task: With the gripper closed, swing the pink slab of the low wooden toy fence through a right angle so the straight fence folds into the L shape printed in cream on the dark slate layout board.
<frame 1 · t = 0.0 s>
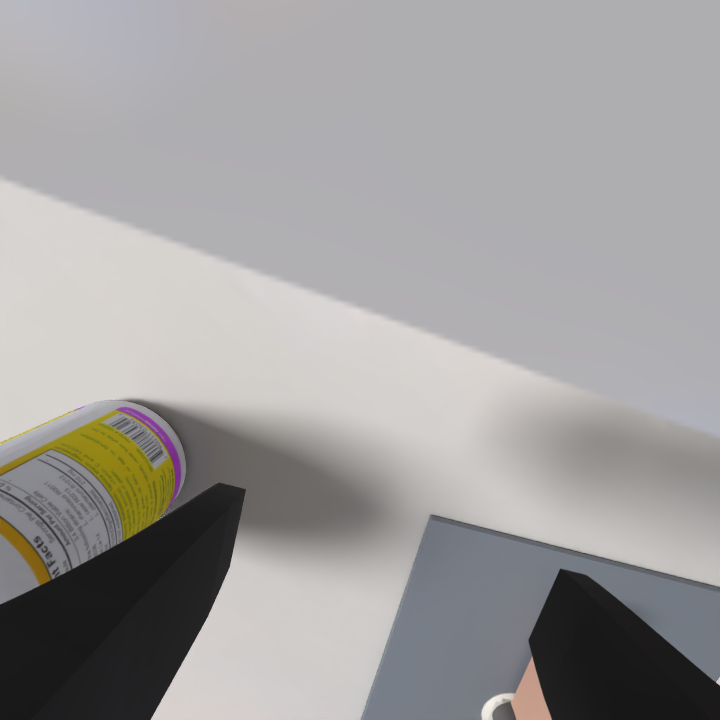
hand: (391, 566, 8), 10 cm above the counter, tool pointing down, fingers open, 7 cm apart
supplement bottle: (132, 454, 19), on the counter
pink slab: (557, 685, 18), point 2 cm above the counter, hinge at 0.0°
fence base: (509, 713, 21), resting on layout board
layout board: (525, 703, 21), on the counter
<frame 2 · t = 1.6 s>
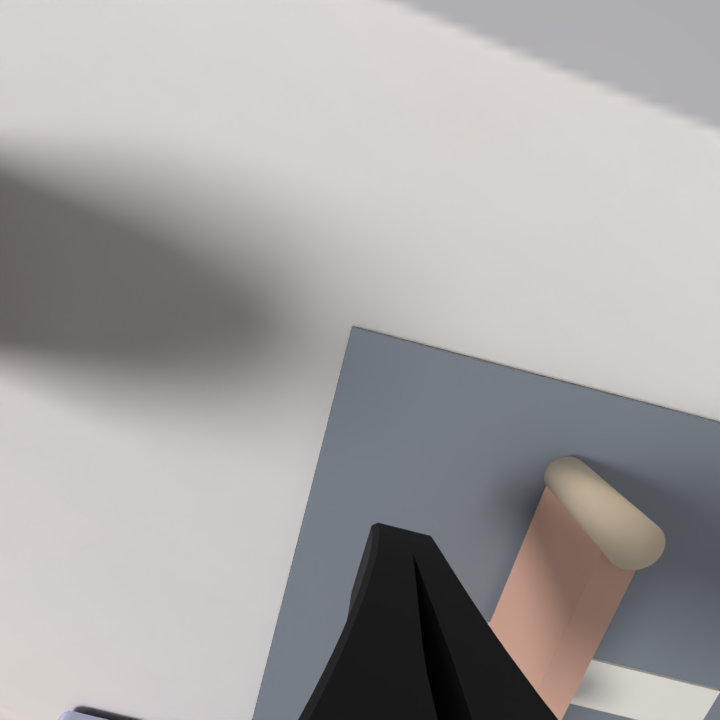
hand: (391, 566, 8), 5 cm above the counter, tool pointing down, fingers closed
pink slab: (556, 592, 11), point 2 cm above the counter, hinge at 0.0°
layout board: (508, 641, 14), on the counter
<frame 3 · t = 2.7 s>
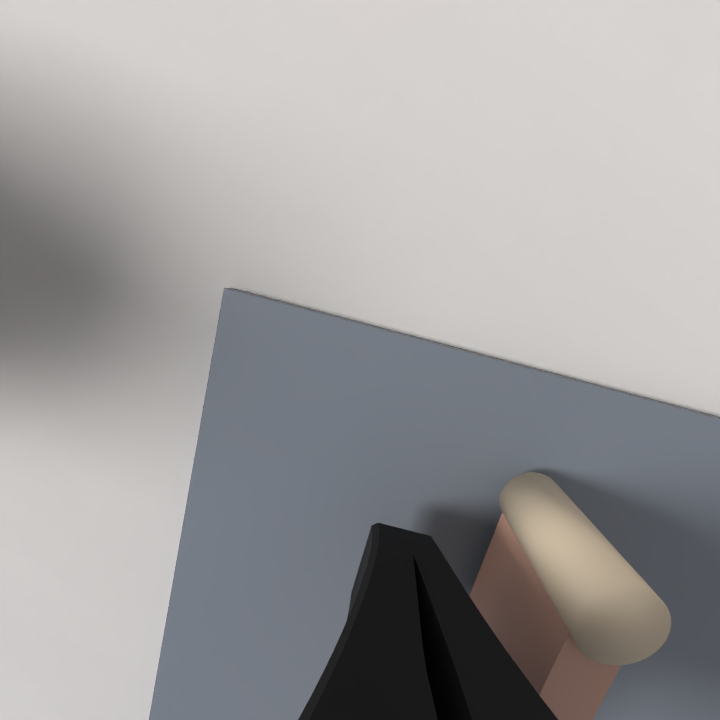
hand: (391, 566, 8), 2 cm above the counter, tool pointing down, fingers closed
pink slab: (510, 671, 8), point 2 cm above the counter, hinge at 0.0°
layout board: (461, 710, 11), on the counter
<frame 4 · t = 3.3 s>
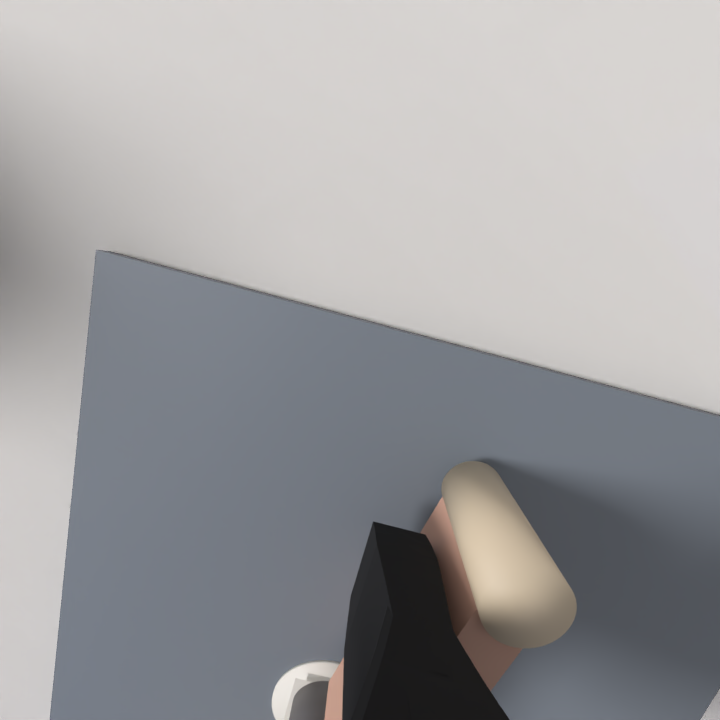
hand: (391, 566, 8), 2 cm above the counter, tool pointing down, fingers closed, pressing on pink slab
pink slab: (417, 649, 8), point 2 cm above the counter, hinge at -11.5°, touching gripper
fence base: (327, 704, 11), resting on layout board
layout board: (365, 685, 11), on the counter
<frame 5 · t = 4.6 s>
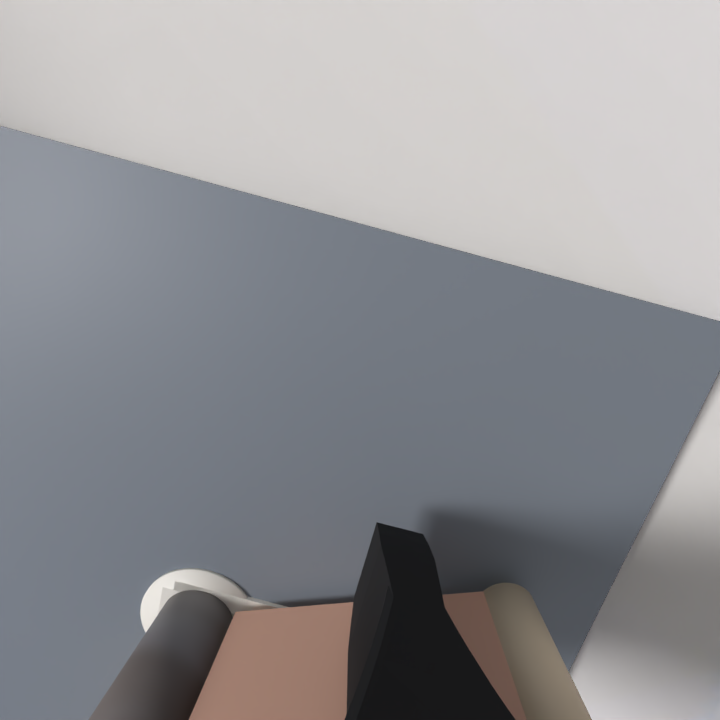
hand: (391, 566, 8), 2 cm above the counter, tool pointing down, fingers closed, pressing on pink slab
pink slab: (382, 685, 8), point 2 cm above the counter, hinge at -66.8°, touching gripper
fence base: (199, 617, 10), resting on layout board
layout board: (243, 599, 10), on the counter
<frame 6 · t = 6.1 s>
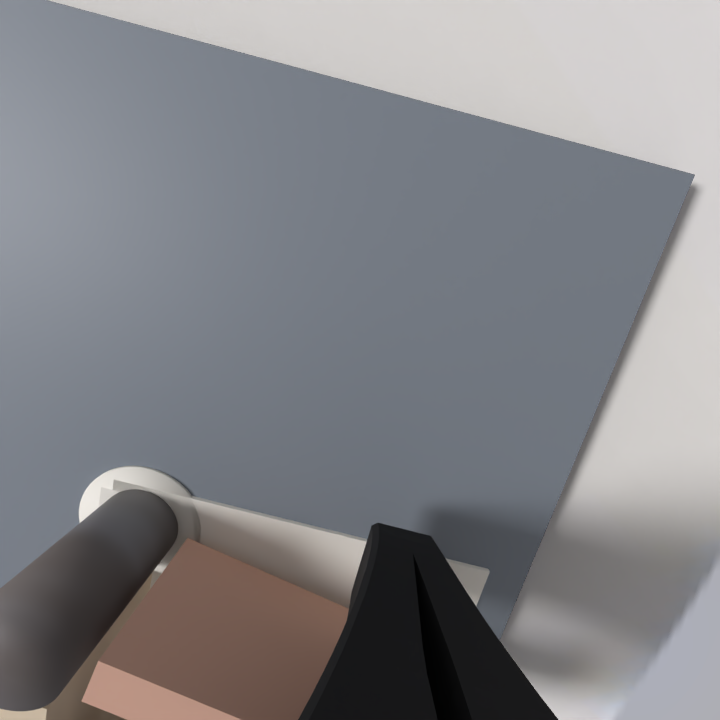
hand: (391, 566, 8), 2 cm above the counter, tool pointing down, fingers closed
pink slab: (303, 678, 8), point 2 cm above the counter, hinge at -101.9°
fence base: (142, 521, 9), resting on layout board
layout board: (190, 505, 10), on the counter
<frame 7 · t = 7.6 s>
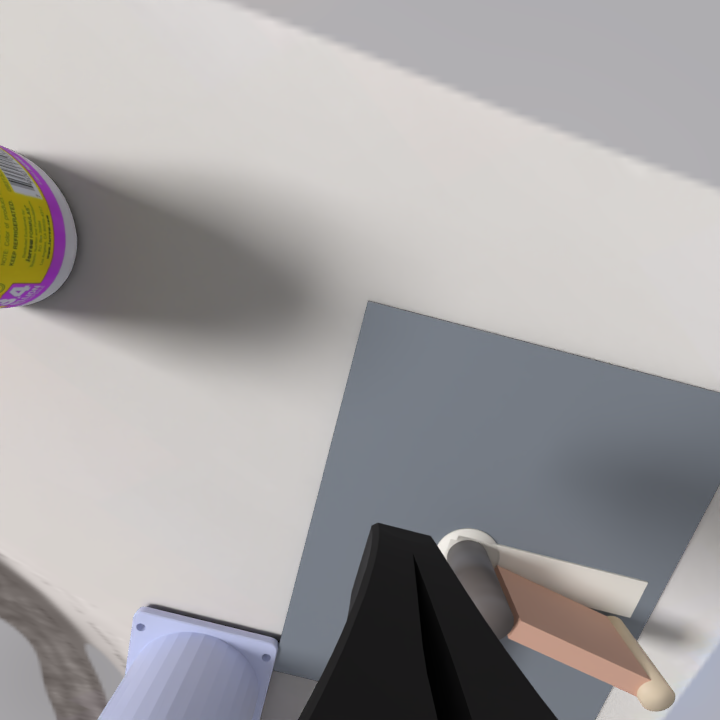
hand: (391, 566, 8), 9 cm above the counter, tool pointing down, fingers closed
supplement bottle: (17, 231, 16), on the counter
pink slab: (574, 633, 17), point 2 cm above the counter, hinge at -102.0°
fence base: (466, 556, 18), resting on layout board
layout board: (486, 546, 19), on the counter
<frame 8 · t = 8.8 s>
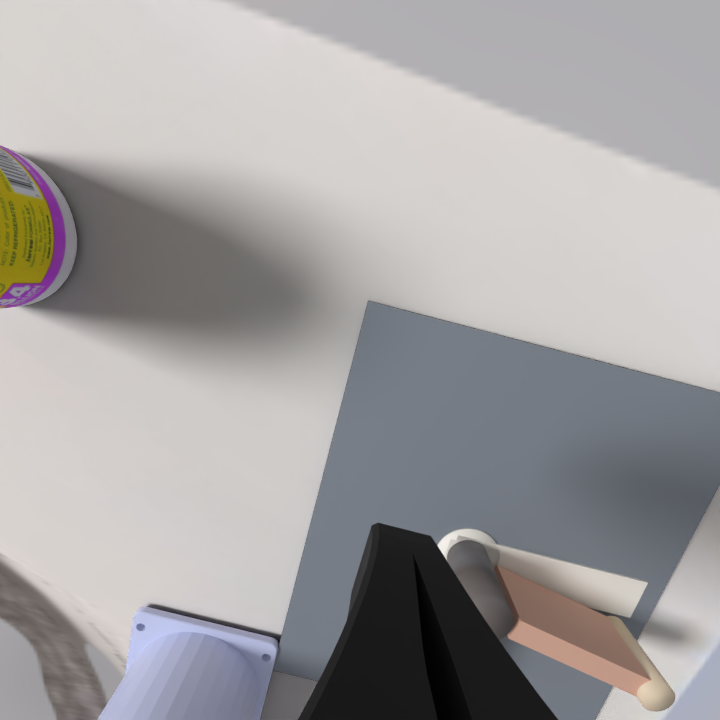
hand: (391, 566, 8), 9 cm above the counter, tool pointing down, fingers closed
supplement bottle: (17, 231, 16), on the counter
pink slab: (574, 633, 17), point 2 cm above the counter, hinge at -102.0°
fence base: (466, 556, 18), resting on layout board
layout board: (486, 546, 19), on the counter
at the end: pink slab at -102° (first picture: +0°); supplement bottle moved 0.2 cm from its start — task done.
